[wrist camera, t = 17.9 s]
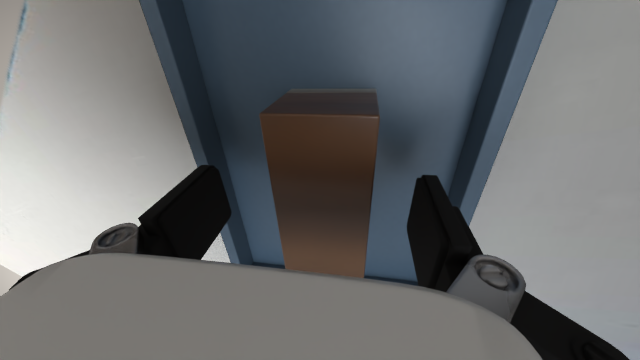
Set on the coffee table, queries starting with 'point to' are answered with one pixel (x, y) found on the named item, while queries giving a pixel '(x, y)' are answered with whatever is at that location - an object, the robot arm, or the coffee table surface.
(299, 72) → the tray
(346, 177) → the eraser
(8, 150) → the coffee table surface
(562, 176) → the coffee table surface
